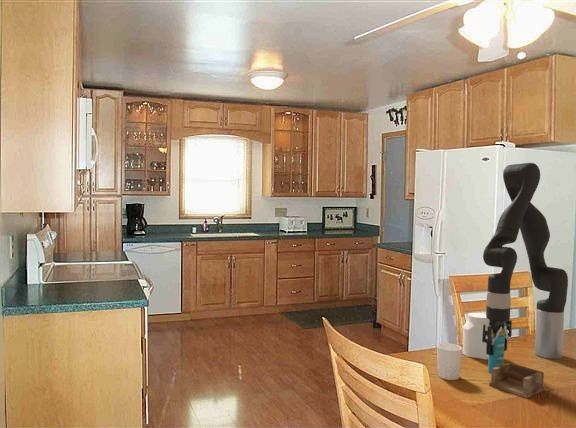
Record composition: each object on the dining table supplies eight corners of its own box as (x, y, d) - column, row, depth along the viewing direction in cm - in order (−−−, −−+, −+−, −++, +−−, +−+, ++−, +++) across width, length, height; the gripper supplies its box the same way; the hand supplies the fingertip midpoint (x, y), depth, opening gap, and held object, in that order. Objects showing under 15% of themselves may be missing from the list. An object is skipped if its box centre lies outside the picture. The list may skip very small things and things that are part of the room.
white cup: (448, 382, 164) (449, 351, 163) (431, 374, 171) (431, 345, 170) (466, 378, 167) (467, 348, 167) (448, 371, 174) (449, 342, 174)
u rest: (507, 378, 168) (508, 361, 168) (544, 389, 159) (545, 372, 158) (489, 385, 161) (489, 368, 161) (526, 398, 152) (527, 380, 152)
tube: (495, 376, 170) (497, 318, 169) (482, 371, 174) (484, 315, 173) (508, 372, 174) (510, 316, 173) (496, 367, 178) (497, 313, 177)
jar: (496, 353, 194) (497, 314, 193) (493, 360, 185) (495, 320, 185) (464, 348, 199) (465, 310, 199) (460, 355, 191) (461, 316, 190)
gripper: (499, 300, 180) (497, 346, 181) (476, 305, 171) (474, 353, 172) (519, 304, 174) (518, 351, 175) (497, 310, 166) (495, 359, 166)
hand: (496, 352), depth 174 cm, fingers open, 8 cm apart
